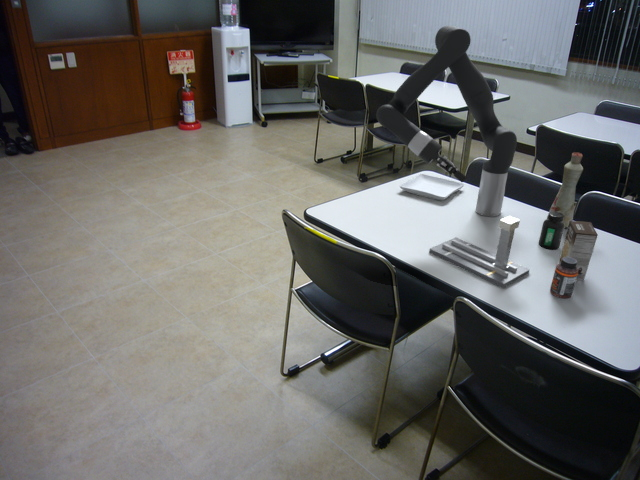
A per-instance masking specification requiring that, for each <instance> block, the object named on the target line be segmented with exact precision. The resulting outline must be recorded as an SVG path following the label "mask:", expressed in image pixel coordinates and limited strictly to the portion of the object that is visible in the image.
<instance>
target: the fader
mask: <svg viewBox="0 0 640 480" xmlns="http://www.w3.org/2000/svg"><path fill="white" fill-rule="evenodd" d="M520 221H521V219H519V218H516V217H513V216H511V215H509V216H506V217H504V218H501V219H499V222H498V229H500V235H499V237H498V239H499V240H498V243H497V248H496V253H495V255H496V258H495V263H494V264H492V265H494V266H496V267H498V268H500V269H503V270H505V271H506V270H508V268H509V266H507V264H508V260H509V258H510V253H511V249H512V245H513V241H514V235H515V230H516V229H518V228H519V226H520Z"/></svg>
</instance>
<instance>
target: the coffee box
mask: <svg viewBox="0 0 640 480" xmlns="http://www.w3.org/2000/svg"><path fill="white" fill-rule="evenodd" d="M597 238H598V233H597V230H596V229H595V227H594V226H593V223H592V222H591V221H590V222H589V221H580V220H579V221H578V220H573V221H570V222H569V225H568V227H567V230H566V234H565V237H564V242H563V245H562V249H561V253H560V255H559V261H558V264H559V263H561V261H562V258H563V257H571V258H574V259H576V260H577V265H576V267H577V268H578V275H577V278H576V281H579V282H585V278H586V274H587V272H588V269H589V266H590V261H591V258H592V256H593V252H594V249H595V246H596V242H597Z"/></svg>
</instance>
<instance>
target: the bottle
mask: <svg viewBox="0 0 640 480" xmlns="http://www.w3.org/2000/svg"><path fill="white" fill-rule="evenodd" d="M582 159H583V154H582V153H581V152H572V153H571V159H570V161H568V162H567V163H566V164H565V165H564V166H563V167H564V168H563V175H562V183H561V185H560V188H559V190H558V193H557V194H556V196H555V198H554V201H553V202H552V204H551V207H550V208H549V211H548V213H549V212H560V213H562V214H564V220H563V221H562V222H563V223H564V224H565V228H568V225H569V222H570V221H574V214H575V213H574V211H575V201H576V200H575V198H576V189H577V187H576V186H577V184H578V182H579V179H580V177H581V175H582V173H583V171H584V167H583V166H582V164H581V161H582ZM546 219H548V215H547V217H546ZM565 228H564V229H565Z"/></svg>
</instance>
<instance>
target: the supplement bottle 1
mask: <svg viewBox="0 0 640 480" xmlns="http://www.w3.org/2000/svg"><path fill="white" fill-rule="evenodd" d="M547 216H548V219H547V218H546V219H544V221H543V222H542V226H541V230H540V234H539V238H538V246H539V247H540V248H542V249H545V250H547V251H556V250H558V249H560V247H561V243H562V239H563V236H564V232H565V224H564V223H563V222H562V221H563V220H564V214H562V213H560V212H549V211H548V214H547Z"/></svg>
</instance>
